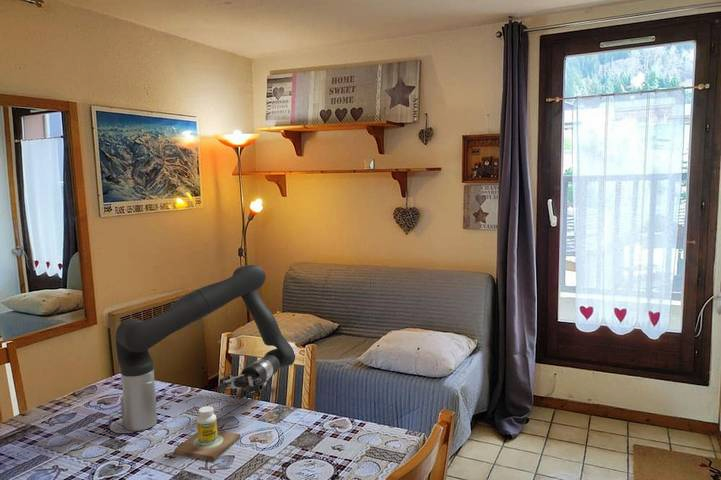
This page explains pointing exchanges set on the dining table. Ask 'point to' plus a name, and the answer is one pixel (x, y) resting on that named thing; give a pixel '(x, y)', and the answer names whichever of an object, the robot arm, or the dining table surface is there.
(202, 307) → the robot arm
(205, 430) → the supplement bottle
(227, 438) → the walnut board
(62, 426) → the dining table surface
